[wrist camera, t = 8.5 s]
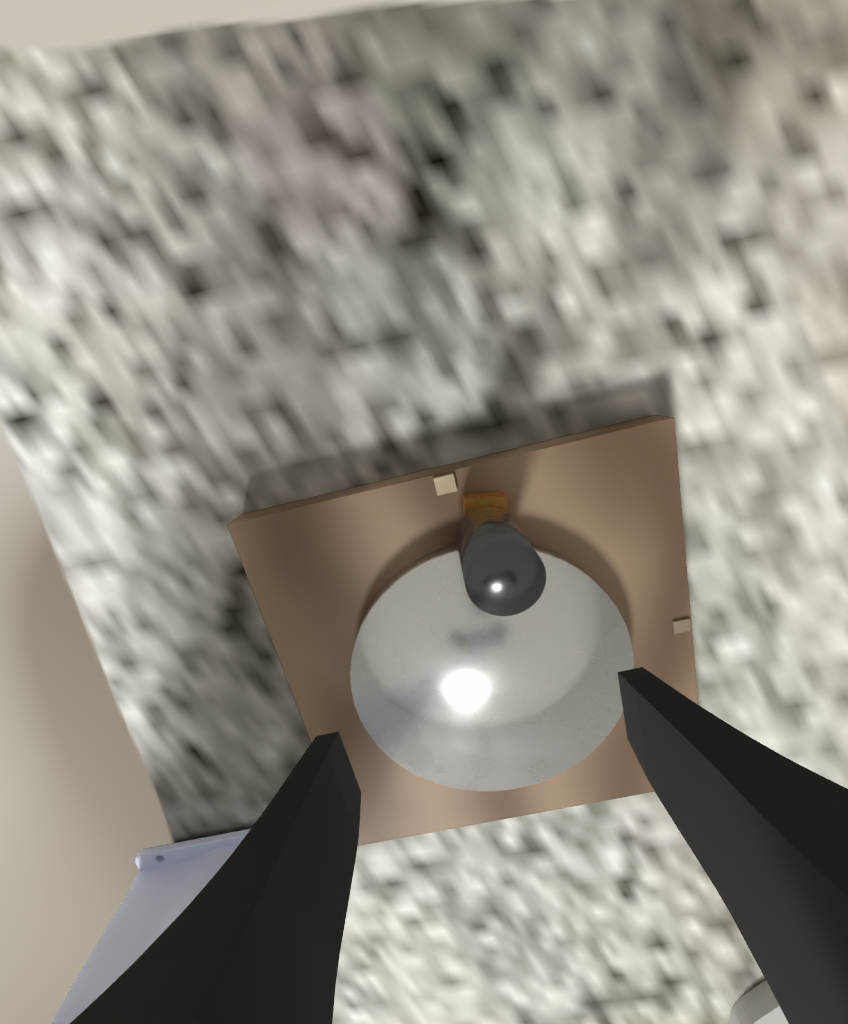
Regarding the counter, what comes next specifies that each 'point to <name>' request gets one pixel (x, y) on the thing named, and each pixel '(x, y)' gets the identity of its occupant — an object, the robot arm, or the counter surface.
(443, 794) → the dial board
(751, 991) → the adjustable wrench
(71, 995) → the robot arm
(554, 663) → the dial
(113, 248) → the counter surface
